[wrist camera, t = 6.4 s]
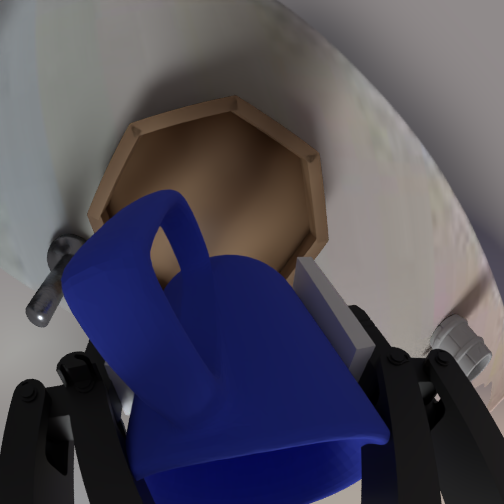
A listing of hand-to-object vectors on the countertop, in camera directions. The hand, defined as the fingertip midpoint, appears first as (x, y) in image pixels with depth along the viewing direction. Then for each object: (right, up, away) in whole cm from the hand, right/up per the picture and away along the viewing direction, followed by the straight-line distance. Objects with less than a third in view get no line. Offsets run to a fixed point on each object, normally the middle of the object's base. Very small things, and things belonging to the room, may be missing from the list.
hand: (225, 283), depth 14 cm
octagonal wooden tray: (-2, +5, +9) cm, 11 cm away
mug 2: (+32, -13, +26) cm, 43 cm away
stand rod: (-15, +1, +9) cm, 17 cm away
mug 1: (-1, +1, 0) cm, 1 cm away
